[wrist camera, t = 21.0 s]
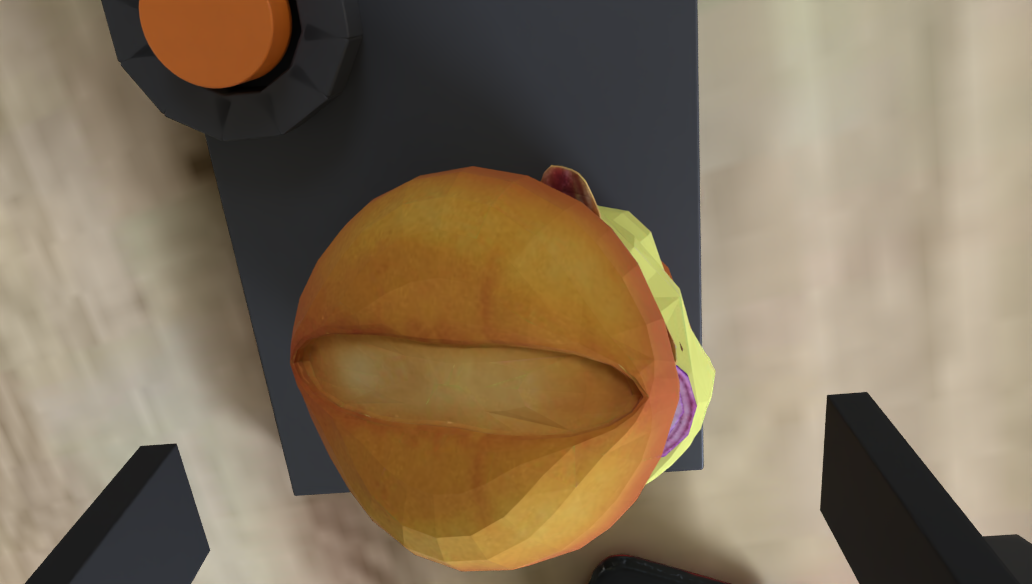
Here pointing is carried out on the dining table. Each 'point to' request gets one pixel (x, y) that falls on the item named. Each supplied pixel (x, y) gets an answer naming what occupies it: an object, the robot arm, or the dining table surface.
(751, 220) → the dining table surface
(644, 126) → the scale
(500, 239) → the cheeseburger
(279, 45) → the button
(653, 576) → the handheld console
